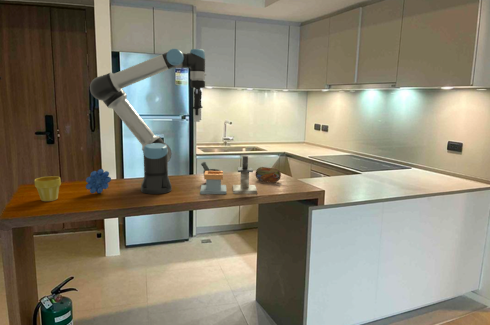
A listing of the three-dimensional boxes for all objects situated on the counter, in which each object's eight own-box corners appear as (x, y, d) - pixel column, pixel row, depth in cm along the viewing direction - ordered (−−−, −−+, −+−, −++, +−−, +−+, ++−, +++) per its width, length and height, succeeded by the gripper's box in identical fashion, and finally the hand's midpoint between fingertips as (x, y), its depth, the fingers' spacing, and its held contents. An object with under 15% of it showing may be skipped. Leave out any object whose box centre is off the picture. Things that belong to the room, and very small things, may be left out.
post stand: (233, 193, 179) (233, 158, 176) (232, 187, 191) (233, 154, 188) (257, 193, 180) (258, 158, 177) (254, 187, 192) (255, 154, 188)
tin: (255, 180, 209) (255, 166, 207) (257, 179, 211) (257, 165, 210) (279, 183, 202) (280, 169, 201) (281, 182, 205) (281, 168, 204)
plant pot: (33, 199, 162) (31, 178, 160) (57, 195, 169) (56, 175, 167) (39, 204, 154) (38, 182, 153) (65, 199, 162) (63, 178, 160)
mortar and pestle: (218, 180, 207) (218, 159, 205) (222, 184, 198) (222, 162, 196) (199, 181, 203) (199, 160, 201) (202, 185, 195) (202, 163, 193)
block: (200, 194, 176) (200, 180, 175) (201, 187, 189) (201, 174, 188) (226, 194, 177) (226, 180, 176) (226, 187, 190) (226, 174, 189)
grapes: (110, 189, 180) (109, 166, 178) (112, 193, 175) (111, 169, 173) (85, 192, 175) (83, 168, 173) (86, 195, 169) (85, 171, 167)
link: (204, 179, 177) (204, 174, 177) (205, 175, 186) (205, 170, 186) (222, 179, 178) (222, 174, 177) (222, 175, 187) (222, 170, 186)
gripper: (203, 79, 174) (203, 122, 178) (206, 81, 199) (206, 119, 203) (188, 78, 174) (188, 122, 178) (192, 81, 198) (192, 119, 202)
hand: (197, 121), depth 190 cm, fingers open, 13 cm apart
